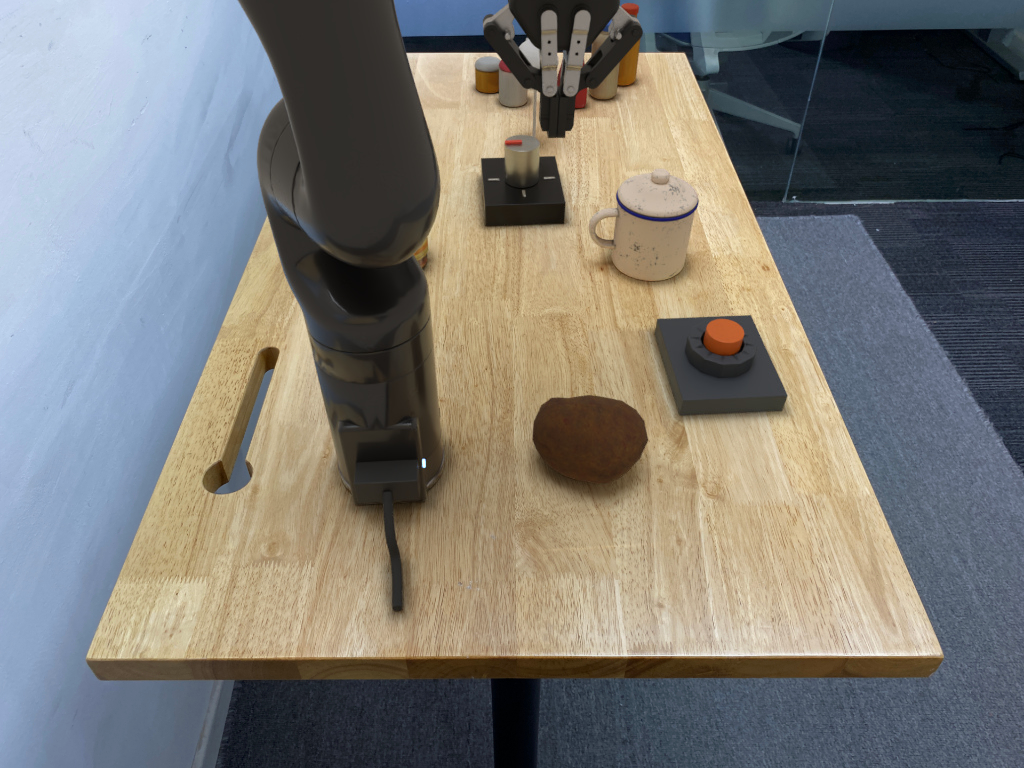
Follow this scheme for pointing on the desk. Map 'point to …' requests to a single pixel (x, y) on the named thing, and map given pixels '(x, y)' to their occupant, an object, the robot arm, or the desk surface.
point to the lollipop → (533, 58)
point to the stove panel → (522, 195)
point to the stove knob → (522, 161)
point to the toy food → (511, 93)
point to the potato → (589, 437)
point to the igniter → (718, 369)
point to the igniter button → (723, 337)
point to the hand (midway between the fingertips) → (555, 133)
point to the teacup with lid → (650, 225)
